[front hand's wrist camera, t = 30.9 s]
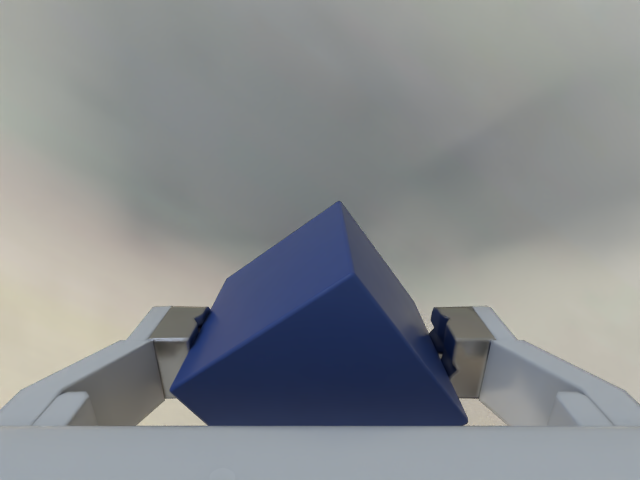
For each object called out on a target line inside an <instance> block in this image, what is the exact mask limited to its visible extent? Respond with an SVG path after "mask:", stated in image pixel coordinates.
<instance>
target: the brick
mask: <svg viewBox="0 0 640 480" xmlns="http://www.w3.org/2000/svg"><path fill="white" fill-rule="evenodd" d="M169 391H170V393H171V394H172V395H174V396H175V397H176V398H177V399H178V400H179V401H180V402H182V403H183V404H184V405H185V406H186V407H187V408H188V409H190V410H191V411H192V412H193V413H194V414H195V415H196V416H198V417H199V418H200V419H201V420H202V421H203V422H204V423H206V424H207V425H208V426H463V425H465V424H467V423H468V418H467V415H466V413H465V411H464V409H463V407H462V405H461V402H460V400H459V398H458V396H457V394H456V392H455V389H454V387H453V385H452V383H451V381H450V379H449V377H448V375H447V373H446V370H445V368H444V366H443V364H442V362H441V359H440V357H439V355H438V352H437V350H436V349H435V347H434V344H433V342H432V340H431V338H430V336H429V333H428V331H427V329H426V326H425V324H424V322H423V320H422V318H421V316H420V313H419V311H418V309H417V307H416V305H415V303H414V301H413V299H412V298H411V297H410V295H409V294H408V293H407V291H406V290H405V289H404V287H403V286H402V284H401V283H400V282H399V280H398V279H397V278H396V276H395V275H394V273H393V272H392V271H391V269H390V268H389V267H388V265H387V264H386V263H385V261H384V260H383V258H382V257H381V256H380V254H379V253H378V252H377V250H376V249H375V247H374V246H373V245H372V243H371V242H370V241H369V239H368V238H367V236H366V235H365V234H364V232H363V231H362V230H361V228H360V227H359V226H358V224H357V223H356V221H355V220H354V219H353V217H352V216H351V215H350V213H349V212H348V210H347V209H346V208H345V206H344V205H343V204H342V202H340V201H338V202H336V203H335V204H333V205H332V206H330V207H329V208H328V209H326V210H325V211H323V212H322V213H320V214H319V215H317V216H316V217H315V218H313V219H312V220H310V221H309V222H307V223H306V224H305V225H303V226H302V227H300V228H299V229H297V230H296V231H295V232H293V233H292V234H290V235H289V236H287V237H286V238H285V239H283V240H282V241H280V242H279V243H277V244H276V245H274V246H273V247H272V248H270V249H269V250H267V251H266V252H264V253H263V254H262V255H260V256H259V257H257V258H256V259H254V260H253V261H252V262H250V263H249V264H247V265H246V266H244V267H243V268H242V269H240V270H239V271H237V272H236V273H234V274H233V275H231V276H230V277H229V278H227V279H226V281H225V283H224V285H223V287H222V289H221V291H220V293H219V294H218V296H217V298H216V300H215V302H214V304H213V306H212V308H211V310H210V312H209V314H208V316H207V318H206V320H205V322H204V324H203V325H202V327H201V329H200V331H199V334H198V336H197V338H196V339H195V341H194V343H193V345H192V347H191V349H190V351H189V352H188V354H187V356H186V358H185V360H184V362H183V364H182V366H181V368H180V370H179V372H178V374H177V375H176V377H175V379H174V381H173V383H172V385H171V387H170V390H169Z"/></svg>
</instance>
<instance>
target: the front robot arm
mask: <svg viewBox="0 0 640 480" xmlns="http://www.w3.org/2000/svg"><path fill="white" fill-rule="evenodd" d="M209 312H210V308H209V307H189V306H174V307H173V306H156V307H153V308H152V309H151V310H150V311H149V313H148V314H147V315H146V316H145V317H144V319H143V320H142V321H141V322H140V324H139V325H138V326H137V327H136V329H135V330H134V331H133V332H132V333H131V335H130V336H129V337H128V338H127V340H120V341H118V342H116V343H114V344H112V345H110V346H108V347H106V348H104V349H102V350H100V351H98V352H96V353H94V354H92V355H90V356H88V357H86V358H84V359H82V360H80V361H78V362H76V363H74V364H72V365H70V366H68V367H66V368H64V369H62V370H60V371H58V372H56V373H54V374H52V375H50V376H48V377H46V378H44V379H42V380H40V381H38V382H36V383H34V384H32V385H30V386H28V387H26V388H24V389H22V390H20V391H19V392H18V393H17V394H16V395H15V396H14V397H13V398H12V399H11V400H10V401H9V402H8V403H7V404H6V405H5V406H4V407H3V408H2V409H1V410H0V480H640V404H639V403H638V402H637V401H636V400H634V399H633V398H632V397H631V396H630V395H629V394H628V393H627V392H626V391H625V390H623V389H621V388H619V387H617V386H615V385H613V384H611V383H609V382H607V381H605V380H603V379H601V378H599V377H597V376H595V375H593V374H591V373H589V372H587V371H585V370H583V369H581V368H579V367H577V366H575V365H573V364H571V363H568V362H566V361H564V360H562V359H560V358H558V357H556V356H554V355H552V354H550V353H548V352H546V351H544V350H542V349H540V348H538V347H536V346H534V345H532V344H530V343H528V342H526V341H524V340H517V339H516V337H515V336H514V335H513V334H512V332H511V331H510V330H509V329H508V328H507V326H506V325H505V324H504V323H503V322H502V320H501V319H500V318H499V317H498V316H497V314H496V313H495V312H494V311H493V310H492V308H491V307H488V306H469V307H434V308H433V311H432V315H431V322H432V324H433V326H434V329H433V330H432V331H431V332H430V333H429V336H430V338H431V340H432V342H433V344H434V347H435V349H436V350H437V352H438V355H439V357H440V359H441V362H442V364H443V366H444V368H445V370H446V373H447V375H448V377H449V379H450V381H451V383H452V385H453V387H454V389H455V392H456V394H457V396H458V398H474V399H479V401H480V402H482V403H483V404H484V405H485V406H486V407H487V408H488V409H490V410H491V411H492V412H493V413H494V414H495V415H497V416H498V417H499V418H500V419H501V420H502V421H503V422H505V423H506V424H507V425H508V426H136V425H137V424H138V423H139V422H141V421H142V420H143V419H144V418H145V417H146V416H147V415H149V414H150V413H151V412H152V411H153V410H154V409H156V408H157V407H158V406H159V405H160V404H161V403H162V402H164V401H165V399H169V398H176V397H175V396H174V395H172V394H171V393H170V391H169V390H170V387H171V385H172V383H173V381H174V379H175V377H176V375H177V374H178V372H179V370H180V368H181V366H182V364H183V362H184V360H185V358H186V356H187V354H188V352H189V351H190V349H191V347H192V345H193V343H194V341H195V339H196V338H197V336H198V334H199V331H200V329H201V327H202V325H203V324H204V322H205V320H206V318H207V316H208V314H209Z"/></svg>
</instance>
